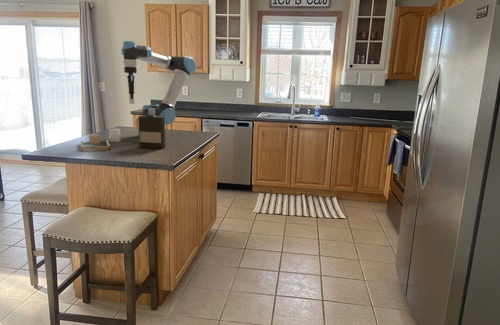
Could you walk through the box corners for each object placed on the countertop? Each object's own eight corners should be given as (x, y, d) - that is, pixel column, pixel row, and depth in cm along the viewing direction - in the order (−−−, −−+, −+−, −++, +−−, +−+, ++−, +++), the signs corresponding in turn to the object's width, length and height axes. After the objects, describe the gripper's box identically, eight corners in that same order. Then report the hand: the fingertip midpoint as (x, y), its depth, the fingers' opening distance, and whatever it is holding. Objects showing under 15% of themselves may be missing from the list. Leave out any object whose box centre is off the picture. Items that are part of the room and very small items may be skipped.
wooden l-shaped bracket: (81, 144, 231) (80, 141, 230) (108, 143, 238) (108, 140, 237) (80, 151, 213) (80, 147, 213) (110, 149, 220) (110, 146, 219)
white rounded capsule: (109, 140, 247) (108, 128, 245) (120, 139, 250) (119, 128, 248) (110, 142, 241) (109, 130, 239) (121, 141, 244) (120, 130, 242)
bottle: (142, 145, 236) (140, 107, 229) (166, 146, 235) (165, 108, 229) (138, 148, 228) (136, 108, 222) (163, 149, 228) (162, 109, 221)
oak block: (89, 142, 239) (89, 134, 238) (99, 141, 242) (98, 134, 241) (89, 143, 234) (89, 136, 233) (99, 143, 237) (99, 136, 235)
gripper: (123, 66, 233) (124, 102, 239) (125, 66, 222) (126, 104, 228) (135, 66, 236) (136, 102, 242) (137, 66, 225) (139, 104, 231)
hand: (131, 103), depth 235 cm, fingers closed
